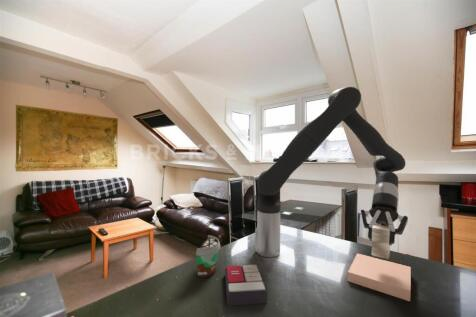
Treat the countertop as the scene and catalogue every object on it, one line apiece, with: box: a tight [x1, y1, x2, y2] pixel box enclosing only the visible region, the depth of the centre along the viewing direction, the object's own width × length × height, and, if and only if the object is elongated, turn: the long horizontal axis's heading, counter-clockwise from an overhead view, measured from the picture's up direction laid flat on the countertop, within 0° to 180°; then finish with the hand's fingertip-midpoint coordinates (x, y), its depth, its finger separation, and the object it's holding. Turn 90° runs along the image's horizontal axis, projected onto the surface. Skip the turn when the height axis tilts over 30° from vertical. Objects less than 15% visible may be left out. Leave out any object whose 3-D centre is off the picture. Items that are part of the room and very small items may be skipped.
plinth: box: [347, 253, 412, 302], centre depth 74 cm, size 16×16×3 cm
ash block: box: [371, 224, 391, 260], centre depth 74 cm, size 5×5×9 cm
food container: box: [195, 234, 221, 278], centre depth 79 cm, size 12×6×10 cm, turn 168°
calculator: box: [224, 264, 268, 306], centre depth 69 cm, size 11×4×15 cm
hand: (380, 241), depth 73 cm, fingers closed on ash block, 4 cm apart
